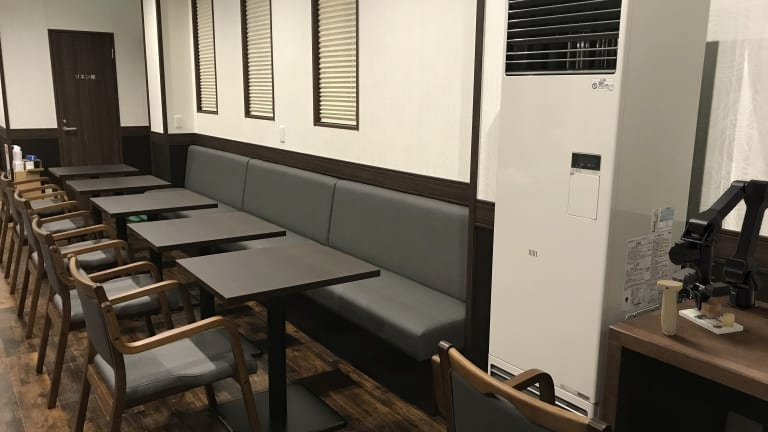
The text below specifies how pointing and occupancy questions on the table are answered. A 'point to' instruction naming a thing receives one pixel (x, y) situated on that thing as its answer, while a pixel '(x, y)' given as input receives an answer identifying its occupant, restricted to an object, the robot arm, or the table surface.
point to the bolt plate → (713, 321)
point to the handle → (669, 305)
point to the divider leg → (710, 309)
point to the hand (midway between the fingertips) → (699, 310)
